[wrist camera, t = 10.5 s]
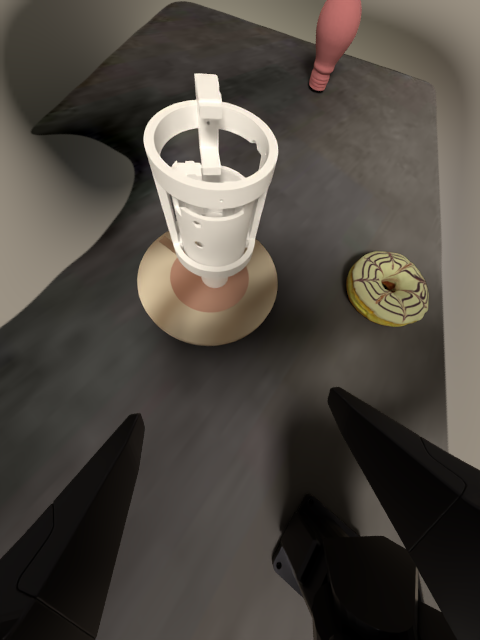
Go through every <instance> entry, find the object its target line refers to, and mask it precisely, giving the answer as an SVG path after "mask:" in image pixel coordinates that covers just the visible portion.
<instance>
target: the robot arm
mask: <svg viewBox="0 0 480 640" xmlns="http://www.w3.org/2000/svg"><path fill="white" fill-rule="evenodd" d="M328 405H329V407H330V409H331V411H332V414H333V416H334V418H335V420H336V423H337V425H338V427H339V429H340V431H341V434H342V435H343V437H344V439H345V441H346V443H347V445H348V446H349V448H350V450H351V452H352V453H353V455H354V457H355V459H356V461H357V462H358V464H359V466H360V468H361V469H362V471H363V473H364V475H365V476H366V478H367V480H368V482H369V484H370V485H371V487H372V489H373V491H374V492H375V494H376V496H377V498H378V500H379V501H380V503H381V505H382V507H383V508H384V510H385V512H386V514H387V516H388V517H389V519H390V521H391V523H392V524H393V526H394V528H395V530H396V531H397V533H398V535H399V537H400V539H401V540H402V542H403V544H404V546H405V547H406V549H405V548H403V547H401V546H400V545H398V544H396V543H395V542H393V541H391V540H389V539H388V538H386V537H384V536H362V537H360V536H358V535H357V534H356V533H355V532H354V531H353V530H352V529H350V528H349V527H348V526H347V525H346V524H345V523H343V522H342V521H341V520H340V519H339V518H338V517H337V516H335V515H334V514H333V513H332V512H331V511H330V510H329V509H327V508H326V507H325V506H324V505H323V504H322V503H320V502H319V501H318V500H317V499H316V498H315V497H314V496H312V495H311V494H307V495H306V496H305V497H304V499H303V501H302V503H301V505H300V507H299V509H298V511H297V512H296V513H294V515H293V517H292V519H291V521H290V523H289V525H288V527H287V528H286V530H285V532H284V534H283V536H282V538H281V544H280V546H279V547H278V549H277V551H276V553H275V555H274V557H273V560H272V564H273V568H274V570H275V572H276V573H277V574H278V575H280V576H281V577H282V578H283V579H284V580H285V581H286V582H287V583H288V584H289V585H290V586H291V587H292V588H293V589H294V590H295V591H296V592H298V593H299V594H300V595H301V596H302V597H303V598H304V600H305V602H306V605H307V607H308V609H309V612H310V614H311V616H312V620H313V637H314V640H480V470H478V469H476V468H474V467H473V466H471V465H469V464H467V463H465V462H464V461H462V460H460V459H458V458H456V457H454V456H453V455H451V454H449V453H447V452H446V451H444V450H442V449H441V448H439V447H437V446H436V445H434V444H432V443H431V442H429V441H427V440H426V439H424V438H422V437H420V436H419V435H417V434H416V433H414V432H412V431H411V430H409V429H408V428H406V427H404V426H403V425H401V424H399V423H398V422H396V421H394V420H393V419H391V418H390V417H388V416H386V415H385V414H383V413H381V412H380V411H378V410H376V409H375V408H373V407H372V406H370V405H368V404H367V403H365V402H363V401H362V400H360V399H358V398H357V397H355V396H353V395H352V394H350V393H349V392H347V391H345V390H344V389H342V388H340V387H333V388H331V389H330V392H329V396H328ZM144 431H145V426H144V422H143V419H142V416H141V414H140V413H136V414H131V415H129V416H128V417H127V418H126V419H125V421H124V422H123V423H122V424H121V425H120V426H119V427H118V429H117V430H116V431H115V432H114V433H113V434H112V435H111V437H110V438H109V439H108V440H107V441H106V442H105V443H104V444H103V446H102V447H101V448H100V449H99V450H98V451H97V452H96V454H95V455H94V456H93V457H92V458H91V459H90V460H89V462H88V463H87V464H86V465H85V466H84V467H83V468H82V470H81V471H80V472H79V473H78V474H77V475H76V476H75V477H74V479H73V480H72V481H71V482H70V483H69V484H68V485H67V487H66V488H65V489H64V490H63V491H62V492H61V493H60V495H59V496H58V497H57V498H56V499H55V500H54V502H53V504H51V505H50V506H49V507H48V508H47V509H46V510H45V512H44V513H43V514H42V515H41V516H40V517H39V518H38V519H37V520H36V522H35V523H34V524H33V525H32V526H31V527H30V528H29V529H28V530H27V532H26V533H25V534H24V535H23V536H22V537H21V538H20V539H19V540H18V541H17V542H16V543H15V544H14V545H13V546H12V547H11V549H10V550H9V551H8V552H7V553H6V554H5V555H4V556H3V557H2V558H1V559H0V640H95V638H96V637H97V633H98V629H99V625H100V621H101V617H102V613H103V609H104V605H105V601H106V597H107V593H108V589H109V585H110V582H111V578H112V574H113V570H114V566H115V562H116V558H117V554H118V550H119V546H120V542H121V538H122V534H123V530H124V526H125V522H126V518H127V514H128V510H129V506H130V503H131V499H132V495H133V491H134V487H135V483H136V479H137V475H138V470H139V465H140V459H141V452H142V445H143V438H144ZM309 499H312V501H311V503H308V501H309ZM277 562H280V565H279V566H277V565H276V564H277ZM419 573H420V574H421V576H422V578H423V580H424V581H425V583H426V585H427V587H428V589H429V590H430V592H431V594H432V596H433V597H434V599H435V601H436V603H437V605H438V606H439V608H440V610H441V612H440V611H438V610H436V609H434V608H432V607H430V606H428V605H427V604H425V602H424V597H423V592H422V586H421V581H420V575H419Z"/></svg>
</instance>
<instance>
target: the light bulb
mask: <svg viewBox="0 0 480 640" xmlns="http://www.w3.org/2000/svg"><path fill="white" fill-rule="evenodd" d="M360 19H361V1H360V0H327V1H326V2H325V4H324V6H323V8H322V10H321V13H320V16H319V19H318V23H317V29H316V60H315V62H314V69H313V70H312V74H311V77H310V82H309V85H310V87H311V88H313V89H314V90H316V91H317V90H318V91H322V90H324V89H325V88H326V85H327V82H328V81H329V78H330V73H331V72H332V71H333V70H334V67H335V64H336V63H337V61H338V60H339V59H340V58H341V56H342V55H343V54H344V53H345V51H346V50H347V48H348V47H349V46H350V44H351V43H352V41H353V39H354V37H355V35H356V33H357V30H358V27H359V24H360Z"/></svg>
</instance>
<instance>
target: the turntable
mask: <svg viewBox="0 0 480 640" xmlns="http://www.w3.org/2000/svg"><path fill="white" fill-rule="evenodd" d="M195 243H196V244H197V241H196V242H195ZM247 248H248V247H247ZM247 248H245V250H244V254H245V252H246V250H247ZM183 252H184V251H183ZM184 253H185V252H184ZM244 254H243V255H244ZM137 283H138V292H139V297H140V299H141V302H142V305H143V307H144V308H145V310H146V312H147V313H148V315H149V316H150V317H151V319H152V320H153V321H154V322H155V323H156V324H157V325H158V326H159V327H160V328H161V329H162V330H163V331H165V332H166V333H167V334H169V335H170V336H172V337H174V338H176V339H178V340H181V341H183V342H186V343H190V344H194V345H200V346H218V345H224V344H228V343H232V342H235V341H237V340H239V339H242V338H244V337H245V336H247V335H249V334H250V333H252V332H253V331H254V330H255V329H256V328H258V327H259V325H260V324H261V323H262V322H263V321H264V320H265V318H266V317H267V315H268V314H269V312H270V311H271V309H272V307H273V305H274V302H275V299H276V295H277V287H278V280H277V273H276V269H275V266H274V263H273V261H272V259H271V257H270V255H269V253H268V252H267V251H266V249H265V248H264V247H263V245H262V244H261V243H260V242H259V241H258V240H256V239H255V245H254V249H253V253H252V256H251V259H250V261H249V263H248V264H247V265H246V266H245V268H243V269H242V270H241V271H240V272H238V273H237V274H235V275H232V276H230V277H228V280H227V282H226V284H225V285H223V286H222V287H219V288H211V287H208V286H207V285H205V284H204V282H203V281H202V277H201V276H198V275H196V274H194V273H192V272H190V271H189V270H188V269H186V268H185V267H184V266H183V265H182V264H181V262H180V261H179V259H178V258H177V255H176V252H175V249H174V246H173V242H172V239H171V235H170V232H169V231H168V232H166V233H165V234H163V235H162V236H160V237H159V238H158V239H157V240H156V241H155V242H154V243H153V244H152V245H151V246H150V247H149V249H148V250H147V252H146V253H145V255H144V257H143V259H142V261H141V263H140V267H139V271H138V278H137Z"/></svg>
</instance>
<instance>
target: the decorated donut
mask: <svg viewBox="0 0 480 640" xmlns="http://www.w3.org/2000/svg"><path fill="white" fill-rule="evenodd" d="M382 284H384V285H385V286H386V287H387V289H388V290H386V289H384V287H383V286H382ZM346 286H347V294H348V297H349V300H350V302H351V303H352V305H353V306H354V307H355V308H356V310H357V311H358V312H359V313H360V314H362V315H363V316H364V317H366V318H367V319H368V320H370V321H372V322H375V323H377V324H380V325H385V326H392V327H394V326H396V327H397V326H404V325H406V324H409V323H414V322H416V321H419V320H421V319H422V318H423V316H424V313H425V312H427V310H428V297H429V294H428V288H427V285H426V282H425V280H424V278H423V276H422V275H421V273H420V272H419V270H418V269H417V268H416V267H415V265H414V264H413V263H411V262H410V261H409V260H408V259H407V258H405V257H404V256H402V255H400V254H397V253H391V252H379V251H376V252H372V253H369V254H366V255H364V256H363V257H361V258H360V259H359V260H358V261H357V262H356V263H355V264H354V265H353V266H352V268H351V269H350V271H349V274H348V277H347V284H346Z"/></svg>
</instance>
